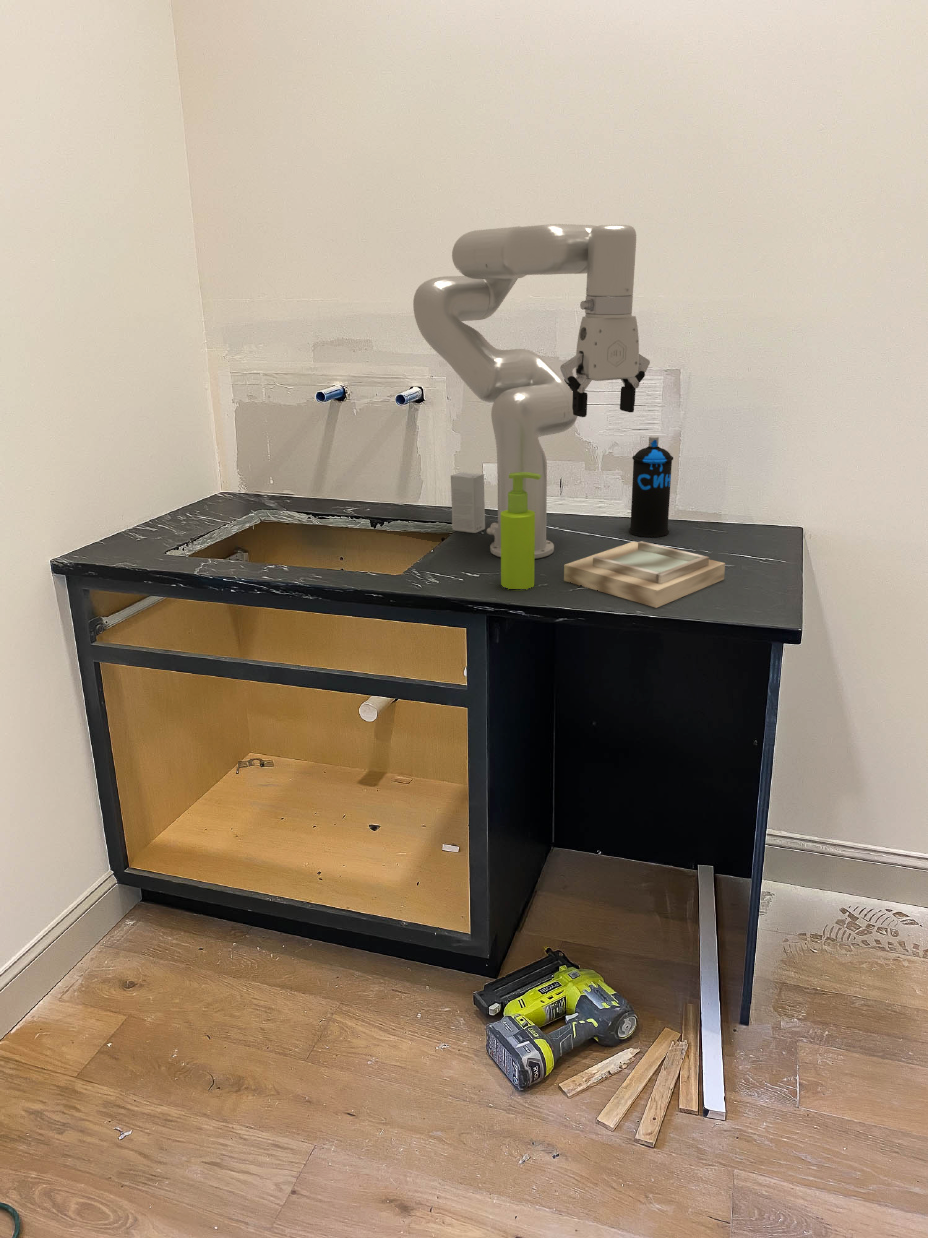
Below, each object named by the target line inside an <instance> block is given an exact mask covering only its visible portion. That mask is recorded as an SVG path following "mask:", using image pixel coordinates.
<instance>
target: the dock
mask: <svg viewBox="0 0 928 1238" xmlns="http://www.w3.org/2000/svg"><path fill="white" fill-rule="evenodd" d="M563 567H564V568H563V569H564V570H563V581H564V582H566V583H567V582H568V583H570V582H571V583H570V584H572V585H577V586H580V585H582V586H581V587H585V588H587V589H591V590H594V591H597V590H598V591H597V592H600V593H601V592H602V593H604V594H608V595H611V596H615V597H619V598H620V599H625V600H628V601H631V602H634V603H639V604H642V605H645V606H648V607H652V608H656V609H657V608H659V607H661V606H664V605H666V604H669V603H671V602H673V601H674V602H675V601H677V600H678V599H681V598H682V597H685V596H688V595H691V594H692V593H693V594H694V593H695V592H697V591H700V590H702V589H704V588H706V587H709V586H712V585H714V584H716V583H718V582H721V581H723V580H725V572H726V571H725V570H726V563H725V562H721V561H717V560H714V559H710V557H709V556H705V555H702V554H698V553H693V552H689V551H685V550H681V549H676V548H672V547H668V546H663V545H659V544H654V543H651V542H646V541H642V540H641V541H638V542H637V541H630V542H628V543H625V544H623V545H618V546H616V547H613V548H609V549H607V550H605V551H601V552H599V553H595V554H592V555H589V556H587V557H583V558H580V559H576V560H574V561H571V562H569V563H566V564H564V565H563Z"/></svg>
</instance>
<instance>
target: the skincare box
mask: <svg viewBox="0 0 928 1238" xmlns="http://www.w3.org/2000/svg"><path fill="white" fill-rule="evenodd" d="M450 490H451V491H450V493H451V495H450V496H451V522H452V523H451V525H452V526H451V527H452V529H451V530H452V531H457V532H463V533H464V532H465V533H470V534H471V533H472V534H477V533H479V532H481V531H483V530H485V529H486V512H485V511H486V508H485V507H486V506H485V503H486V502H485V475H484V474H483V473H482V474H481V473H473V472H462V471H460V472H457V473H455V474H451V475H450Z"/></svg>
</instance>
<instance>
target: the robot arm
mask: <svg viewBox="0 0 928 1238" xmlns="http://www.w3.org/2000/svg"><path fill="white" fill-rule="evenodd" d="M636 248H637V232H636V229H635V228H634V226H631V225H627V224H604V225H603V224H601V225H593V224H574V223H573V224H572V223H571V224H570V223H568V224H566V223H565V224H557V223H556V224H550V223H549V224H537V225H527V226H510V227H499V228H487V229H477V230H471V231H468V232H465V233H464V234H462V235H461V236H460V237H459V238H458V239H457V240H456V241H455V243H454V245H453V247H452V252H451V258H452V262H453V265H454V267H455V269H456V270H457V271H458V272H459V273H460V274H461V275H453V276H452V275H451V276H449V275H447V276H446V275H445V276H439V277H438V276H437V277H433V278H431V279H428V280H426V281H424V282H423V283H421V284H420V285H419V286H418V287H417V289H416V290H415V293H414V296H413V302H412V303H413V307H412V308H413V315H414V319H415V322H416V325H417V328H418V330H419V332H420V334H421V336H422V337H423V339H424V340H425V341H426V342H427V344H428V345H429V346H430V347H431V349H432V350H434V351H435V352H436V353H437V354H438V356H439V355H440V357H441V358H442V359H444V360H445V361H446V363H448V365H449V366H450V367H451V368H452V369H453V371H454V372H455V373H456V374H457V375H458V376H459V378H460V379H461V380H462V381H463V383H464V384H466V386H467V387H468V388H469V389H470V390H471V391H472V392H473V393H474V394H475V396H476V397H477V398H478V399H480V400H482V401H483V402H487V403H493V404H492V406H491V409H490V410H491V411H490V412H491V424H492V430H493V435H494V440H495V445H496V470H497V471H496V473H497V522H492V523H491V524H490V527H487V529H486V534H487V535H491V536H494V541H493V542H491V544H490V546H489V548H490V549H489V550H490V553H491V554H493V556H496V557H499V558H501V512H502V511H505V510H508V492H510V491H511V490H513V478H510V479H509V474H510V473H515V472H531V473H536V474H539V475H542V476H541V478H540V479H539V480H537V479H532V478H523V490H524V491H525V492H527V493H528V510H531V511H534V512H535V559H541V558H545V557H548V556H550V555H551V554H553V553H554V551H555V544H554V543H553V542H552V541H550V540H548V539H547V513H548V512H547V509H548V508H547V506H548V505H547V504H548V503H547V502H548V501H547V500H548V498H547V496H548V491H547V490H548V488H547V487H548V462H547V460H548V459H547V456H546V454H545V451H544V449H543V447H542V445H541V442H540V439H539V438H540V437H543V436H550V435H551V436H552V435H556V434H559V433H560V434H561V433H564V432H566V431H568V430H569V429H571V428H572V427H573V426H574V424H575V423H576V421H577V420H578V419H577V418H578V417H580V418H585V417H587V414H588V393H587V392H585V391H586V389H587V388H588V387H589V385H590V384H591V382H592V381H596V382H599V381H600V382H601V381H602V382H603V381H614V380H615V381H616V380H620V381H621V383H622V384H623V386H621V388H620V399H619V400H620V401H619V409H620V411H623V412H627V413H634V410H635V405H636V389H638V388H639V386H640V383H641V382H642V380H643V379H644V378H645V377H646V373H647V370H648V368H649V366H650V363H651V362H650V361H651V360H650V359H649V358H646V356H645V357H644V356H643V355H641V354H640V353H639V352H640V344H639V343H640V341H639V339H640V337H639V329H638V328H639V327H638V322H637V317H636V315H633V301H634V299H633V298H634V284H635V283H634V282H635V265H636V264H635V263H636V252H637V251H636V250H637V249H636ZM572 274H574V275H577V274H578V275H579V274H580V275H581V274H586V288H585V289H586V291H585V292H586V293H585V294H586V296H585V300H581V302H580V306H579V307H580V309H581V310H584V313H585V316H582V318H581V321H580V326H579V331H578V336H577V342H576V351H575V355H574V356H573V357H571V358H570V359H568V360H567V361H565V362H563V363H562V364H561V365H560V368H559V369H560V372H561V374H562V377H563V378H564V379H562V378H561V377H560V376H559V374H558V373H557V372H555V370H554V369H553V368H552V367H551V366H550V365H549V364H548V363H547V362H546V361H545V359H543V357H541V356H540V355H539V354H537V353H536V352H534V351H532V350H530V349H526V348H514V349H512V348H511V349H499V348H496V347H495V346H494V345H492V344H491V343H490V342H489V341H488V340H487V339H486V338H485V336H484V335H482V334H481V332H480V331H478V330H477V329H475V328H473V327H472V326H470V325H469V324H466V323H464V322H469V321H482V320H486V319H487V318H489V317H491V316H492V315H494V313H496V312H497V311H498V309H499V308H500V306H501V305H502V303H503V302H504V300H505V299H506V298H507V296H508V294H509V293H510V291H511V290H512V288H513V287H514V285H515V284H516V283H517V281H518V280H519V279H522V278H524V277H526V276H535V275H539V276H540V275H545V276H546V275H572ZM574 369H575V375H576V377H575V376H574V373H573V370H574Z"/></svg>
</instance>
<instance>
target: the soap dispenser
mask: <svg viewBox="0 0 928 1238" xmlns="http://www.w3.org/2000/svg"><path fill="white" fill-rule="evenodd" d="M541 476H542V475H539V474H536V473H531V472H515V473H510V474H509V479H510V478H513V490H511V491H510V492H508V510H505V511H502V512H501V557H500V585H502V586H503V587H506V588H508V589H507V590H509V589H526V590H529V589H528V588H530V589H532V588H533V587H534V586H535V565H536V564H535V512H534V511H531V510H528V493H527V492H525V491H524V490H523V478H532V479H537V480H539V479H540V478H541ZM502 586H501V587H502ZM503 587H502V588H503ZM531 587H532V588H531Z"/></svg>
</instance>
